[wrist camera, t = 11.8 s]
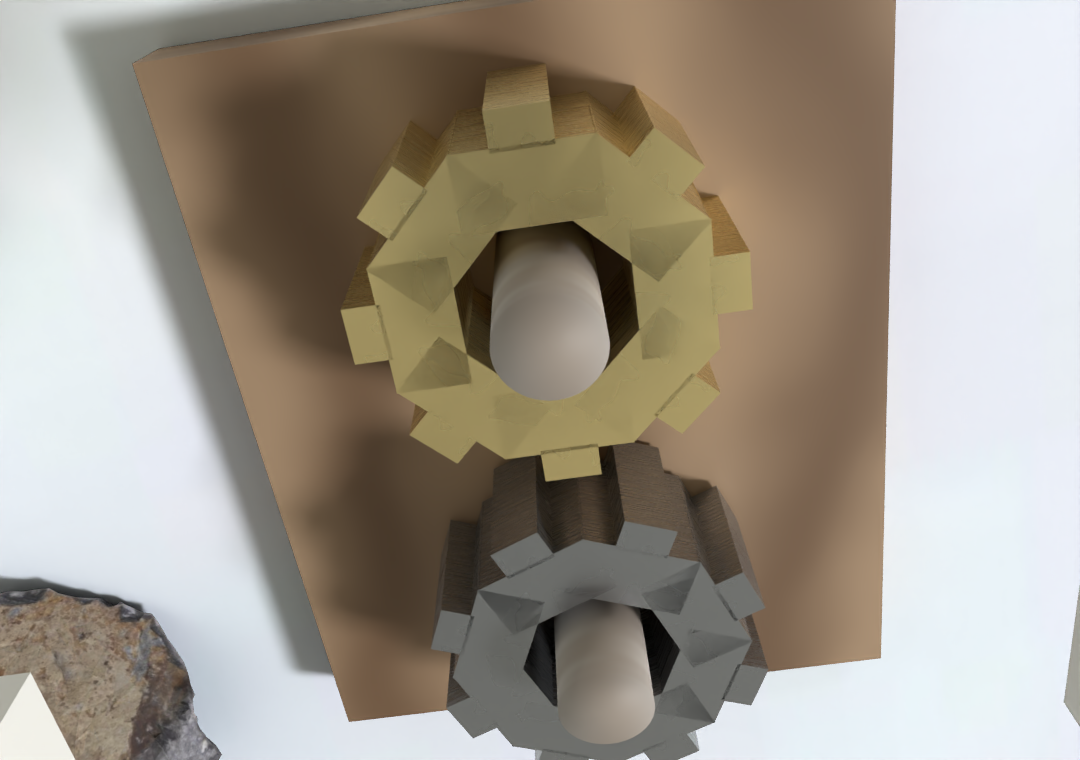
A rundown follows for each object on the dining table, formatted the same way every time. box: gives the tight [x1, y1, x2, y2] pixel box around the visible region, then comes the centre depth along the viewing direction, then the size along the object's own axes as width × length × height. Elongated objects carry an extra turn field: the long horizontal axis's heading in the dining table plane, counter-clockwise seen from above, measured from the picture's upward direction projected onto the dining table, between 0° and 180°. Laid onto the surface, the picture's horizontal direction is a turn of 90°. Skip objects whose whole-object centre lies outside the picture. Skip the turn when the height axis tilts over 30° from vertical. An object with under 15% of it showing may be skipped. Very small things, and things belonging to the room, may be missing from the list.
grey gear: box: [431, 442, 768, 760], centre depth 29 cm, size 9×9×4 cm
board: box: [133, 0, 896, 744], centre depth 27 cm, size 18×22×8 cm
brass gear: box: [341, 63, 753, 481], centre depth 24 cm, size 9×9×4 cm
